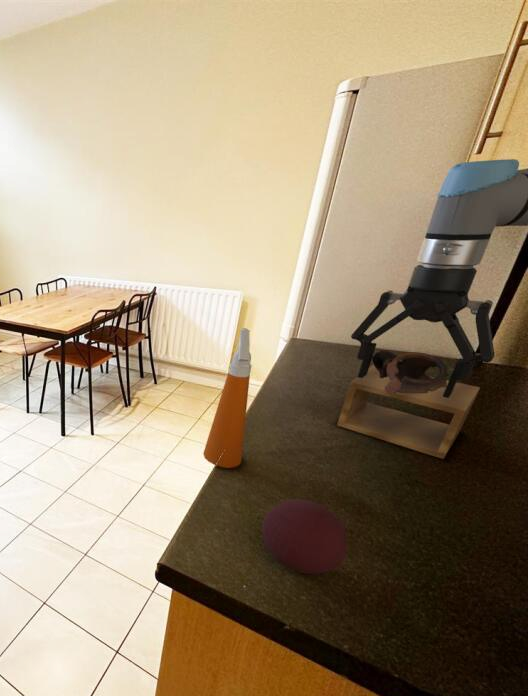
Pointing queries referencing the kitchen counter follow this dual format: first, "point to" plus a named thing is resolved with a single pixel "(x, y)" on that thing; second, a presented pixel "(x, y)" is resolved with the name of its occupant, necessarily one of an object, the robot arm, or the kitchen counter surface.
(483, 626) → the kitchen counter surface
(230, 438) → the spray bottle
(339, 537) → the decorative ball
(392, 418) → the tan open box
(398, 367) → the pottery mug
